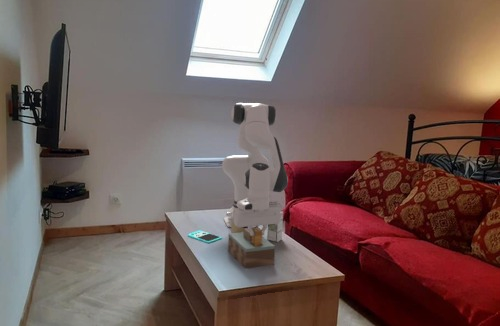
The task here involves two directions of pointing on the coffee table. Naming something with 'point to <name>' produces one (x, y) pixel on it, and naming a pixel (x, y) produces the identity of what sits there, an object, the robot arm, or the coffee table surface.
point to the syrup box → (275, 231)
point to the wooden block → (257, 237)
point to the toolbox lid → (250, 241)
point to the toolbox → (251, 256)
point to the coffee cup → (236, 229)
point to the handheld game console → (204, 236)
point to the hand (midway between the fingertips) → (257, 235)
